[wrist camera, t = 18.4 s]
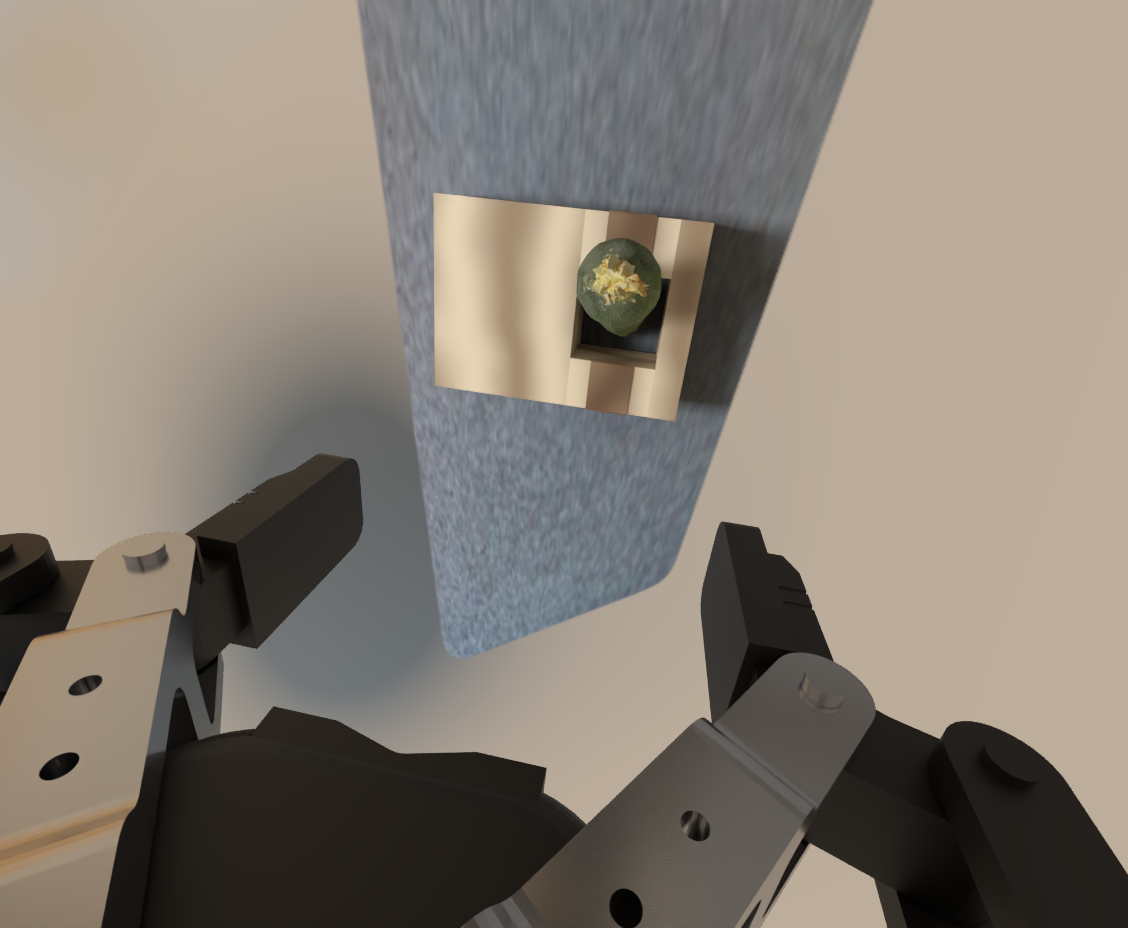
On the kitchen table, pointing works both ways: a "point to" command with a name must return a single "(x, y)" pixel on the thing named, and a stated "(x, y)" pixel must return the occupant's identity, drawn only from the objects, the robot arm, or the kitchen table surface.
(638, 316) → the vegetable
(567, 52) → the kitchen table surface
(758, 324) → the kitchen table surface
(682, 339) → the wooden block with hole
